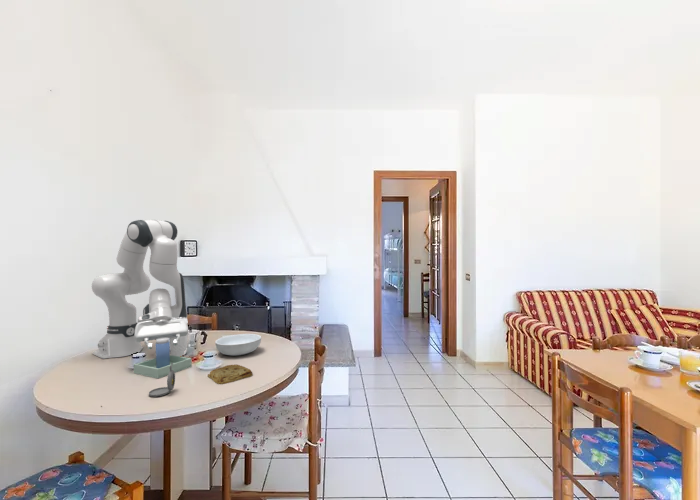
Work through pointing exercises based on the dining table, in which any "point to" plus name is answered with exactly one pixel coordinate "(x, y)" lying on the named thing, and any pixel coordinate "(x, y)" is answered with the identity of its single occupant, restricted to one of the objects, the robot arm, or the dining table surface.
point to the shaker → (162, 352)
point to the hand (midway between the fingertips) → (163, 346)
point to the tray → (150, 367)
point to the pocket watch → (167, 389)
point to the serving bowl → (238, 344)
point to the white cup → (181, 347)
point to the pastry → (229, 374)
